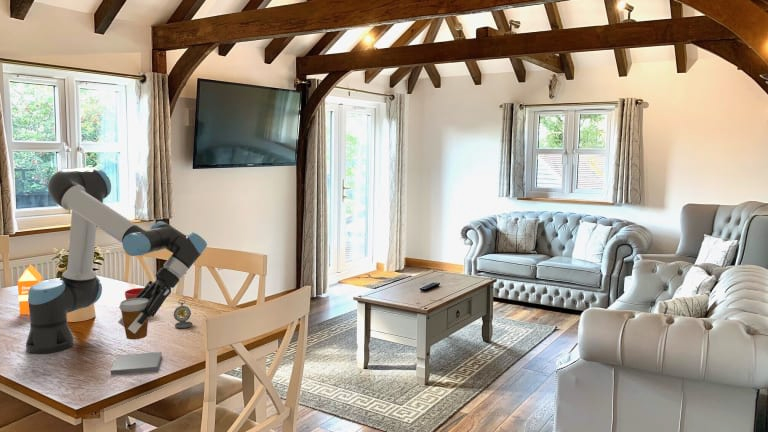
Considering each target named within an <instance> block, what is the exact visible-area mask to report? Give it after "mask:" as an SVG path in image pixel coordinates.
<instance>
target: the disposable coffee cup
mask: <svg viewBox="0 0 768 432" xmlns="http://www.w3.org/2000/svg"><path fill="white" fill-rule="evenodd" d="M148 302H149V300H148V299H145V298H133V299H128V300H126V299H124V300H123V301H121V302H120V303H119V307H118V308H119V309H120V312H121V318H122V317H123V322H124V326H123V327H124V332H125V337H126V339H127V340H133V341H134V340H135V341H136V340H141V339H144V338H146V337H147V336H148V326H149V324H148V323H149V317H148V318H147V319H146V321H145V322H144V323H143V324H142V326H141V327H140V328H139V329H138V330H137V332H136V333H135V334H134V333H133V332H132V331H130V330H129V329H128V328H129V326H130V325H131V324H132V323H133V322H134V320H135V319H136V318H137V317H138V316H139V314H140V313H141V311H142V310H145V308H146V306H147V304H148ZM142 313H143V312H142ZM143 314H144V313H143Z"/></svg>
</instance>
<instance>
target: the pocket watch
mask: <svg viewBox="0 0 768 432" xmlns="http://www.w3.org/2000/svg"><path fill="white" fill-rule="evenodd" d="M182 301H183V302H182ZM185 303H186V301H185V300H184V299H180V300H178V304H179V305H180V306H178V307H176V308H175V309H174V311H173V318H174V319H175V321H177V322H176V323H175V324H174V327H175V328H177V329H186V328H190V327H191V326H193V322H191V321H188V320H189V319H190V318H191V315H192V313H191V309H190V308H189V307H188V306H185V305H184V304H185Z"/></svg>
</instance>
